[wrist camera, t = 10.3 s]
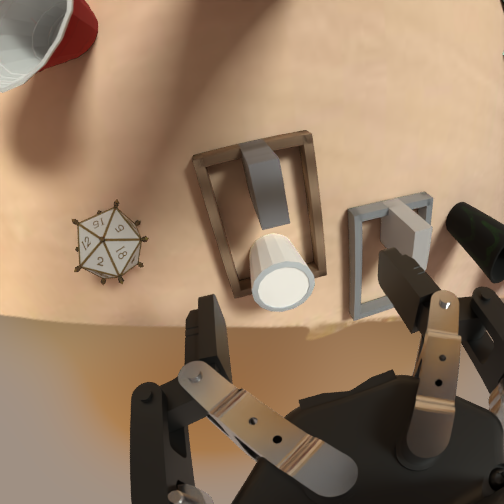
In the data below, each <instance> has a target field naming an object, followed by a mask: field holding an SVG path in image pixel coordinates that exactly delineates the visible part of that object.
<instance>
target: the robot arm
mask: <svg viewBox="0 0 504 504" xmlns="http://www.w3.org/2000/svg"><path fill="white" fill-rule="evenodd" d="M378 281H379V284H380V286H381V288H382V290H383V291H384V293H385V294H386V296H387V297H388V299H389V300H390V301H391V303H392V304H393V306H394V308H395V309H396V311H397V312H398V314H399V315H400V317H401V318H402V320H403V321H404V323H405V324H406V326H407V328H408V329H409V330H410V332H411V334H412V333H415V332H417V331H420V333H421V338H420V342H419V349H418V353H417V358H416V363H415V368H414V372H413V375H412V376H408V375H395V373H394V371H393V370H390V371H387V372H385V373H382V374H379V375H377V376H374V377H371V378H370V379H368V380H367V381H365V382H363V383H362V384H360V385H359V386H357V387H356V388H354V389H352V390H351V391H345V392H334V393H322V394H319V395H316V396H312V397H308V398H305V399H301V400H299V404H300V407H298V408H296V409H294V410H293V411H291V412H290V413H289V414H288V415H286V416H285V417H284V418H283V417H282V416H281V415H279V414H278V413H276V412H275V411H273V410H272V409H270V408H269V407H268V406H266V405H265V404H264V403H262V402H261V401H260V400H258V399H257V398H256V397H254V396H253V395H252V394H250V393H249V392H248V391H246V390H244V389H238V388H236V387H235V386H234V385H233V383H232V375H231V367H230V357H229V348H228V338H227V329H226V324H225V320H224V317H223V314H222V312H221V309H220V306H219V304H218V301H217V299H216V296H215V294H212V295H207V296H203V297H199V298H198V309H196V310H192V311H190V313H189V315H188V317H187V318H186V331H185V336H186V338H185V365H184V366H183V367H182V369H181V370H180V372H179V374H178V377H176V378H175V379H173V380H172V381H170V382H167V383H165V384H163V385H161V386H158V385H157V384H155V383H153V382H147V383H143V384H141V385H139V386H138V387H137V388H136V389H135V390H134V392H133V394H132V398H131V421H130V480H131V501H132V504H214V503H213V500H212V498H211V497H210V496H209V494H207V493H206V492H204V491H202V490H200V489H198V488H196V487H195V483H194V476H193V468H192V460H191V452H190V442H189V433H188V425H189V424H191V423H193V422H196V421H198V420H200V419H202V418H204V417H207V418H208V419H209V420H210V421H211V422H212V423H213V424H214V425H216V426H217V427H218V428H219V429H220V430H221V431H222V432H223V433H224V434H225V435H227V436H228V437H229V438H230V439H231V440H232V441H233V442H234V443H235V444H236V445H237V446H238V447H239V448H240V449H242V450H243V451H244V452H245V453H246V454H248V455H249V456H250V457H251V458H252V459H253V460H255V461H256V462H257V463H256V465H255V466H254V468H253V470H252V471H251V473H250V475H249V476H248V478H247V480H246V481H245V483H244V484H243V486H242V487H241V489H240V491H239V492H238V494H237V495H236V497H235V499H234V500H233V502H232V503H231V504H504V303H503V302H502V301H501V299H500V298H499V297H498V296H497V294H496V293H495V292H494V291H493V290H491V289H489V288H487V287H478V288H476V289H475V290H474V292H473V295H472V297H462V298H457V296H456V295H455V294H453V293H452V292H449V291H446V290H441V289H440V288H439V287H438V286H437V285H436V283H435V282H434V281H433V280H432V279H431V277H430V276H429V275H428V274H427V273H426V272H425V271H424V269H423V268H422V267H420V265H419V264H418V263H417V262H416V260H415V259H413V258H411V257H410V256H408V255H406V254H405V255H402V254H401V253H400V252H399V251H398V250H397V249H396V248H395V247H392V248H389V249H385V250H382V251H380V252H379V264H378ZM485 330H487V331H488V333H489V334H490V336H491V337H492V339H493V341H494V343H493V341H492V340H491V338H490V337H489V335H488V333H487V332H486V331H485ZM461 343H462V345H463V347H464V348H465V350H466V352H467V353H468V355H469V357H470V359H471V360H472V362H473V363H474V366H475V367H476V369H477V371H478V373H479V374H480V376H481V378H482V380H483V382H484V384H485V386H486V387H487V389H488V391H489V393H490V396H489V410H487V409H485V408H482V407H480V406H478V405H476V404H473V403H471V402H469V401H467V400H465V399H462V398H460V397H458V396H456V389H457V381H458V373H459V363H460V351H461Z"/></svg>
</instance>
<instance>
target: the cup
mask: <svg viewBox="0 0 504 504" xmlns="http://www.w3.org/2000/svg"><path fill="white" fill-rule="evenodd" d="M446 227H447V230H448V231H449V233H450V234H451V235H452V236H453V237H454V238H455V239H456V240H457V241H458V242H459V244H460V245H461V246H462V247H463V248H464V249H465V250H466V251H467V253H468V254H469V255H470V256H471V257H472V258H473V260H474V261H475V262H476V263H477V264H478V266H479V267H480V268H481V269H482V270H483V272H484V273H485V274H486V275H487V277H488V278H489V279H490V280H491V282H492V283H499V282H501V281H503V280H504V225H503V224H502V223H500V222H498V221H497V220H495V219H493V218H492V217H490V216H488V215H486V214H485V213H483V212H481V211H479V210H478V209H476V208H474V207H472V206H471V205H469V204H467V203H465V202H460V203H458V204H456V205H455V206H454V207H453V208H452V209H451V211H450V212H449V214H448V217H447V220H446Z"/></svg>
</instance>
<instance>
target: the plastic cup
mask: <svg viewBox="0 0 504 504" xmlns="http://www.w3.org/2000/svg"><path fill="white" fill-rule="evenodd" d="M97 33H98V21H97V19H96V17H95V15H94V13H93V12H92V11H91V9H90V7H89V5H88V4H87V3H86V1H85V0H0V92H2V93H3V92H6V91H8V90H10V89H13V88H15V87H17V86H20V85H22V84H24V83H26V82H27V81H28V80H29V79H30V78H31V77H32V76H33V75H35V74H36V73H38V72H41V71H42V70H44V69H46V68H49V67H52V66H55V65H58V64H61V63H64V62H67V61H69V60H72V59H75V58H77V57H79V56H80V55H82V54H83V53H85V52H86V51H87V50H88V49H89V48H90V47H91V45H92V44H93V43H94V41H95V38H96V36H97Z"/></svg>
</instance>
